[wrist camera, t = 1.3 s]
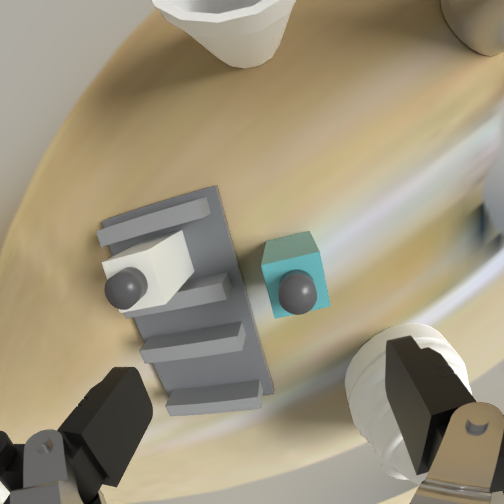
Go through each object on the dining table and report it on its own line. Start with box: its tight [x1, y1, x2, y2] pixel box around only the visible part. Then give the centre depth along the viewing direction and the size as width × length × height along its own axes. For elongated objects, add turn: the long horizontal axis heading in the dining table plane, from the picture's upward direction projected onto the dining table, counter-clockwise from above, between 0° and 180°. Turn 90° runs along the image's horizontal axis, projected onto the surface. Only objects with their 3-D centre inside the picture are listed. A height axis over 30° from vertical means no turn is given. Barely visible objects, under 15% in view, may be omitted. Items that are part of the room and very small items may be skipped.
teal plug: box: [261, 231, 330, 318], centre depth 25 cm, size 4×4×10 cm
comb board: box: [96, 185, 274, 416], centre depth 30 cm, size 12×22×4 cm, turn 15°
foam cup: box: [152, 0, 296, 69], centre depth 19 cm, size 10×9×13 cm
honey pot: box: [345, 323, 472, 485], centre depth 23 cm, size 13×13×18 cm
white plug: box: [102, 230, 194, 313], centre depth 25 cm, size 4×4×10 cm
